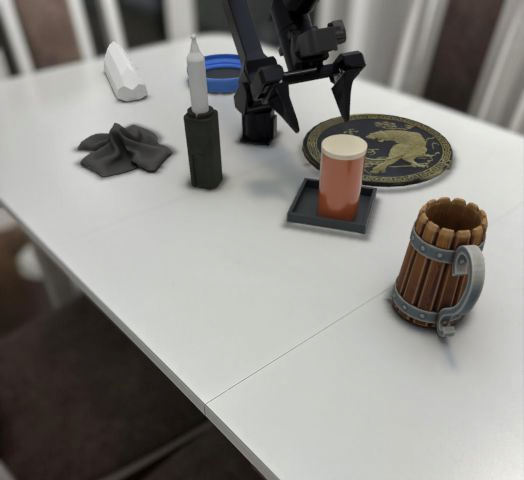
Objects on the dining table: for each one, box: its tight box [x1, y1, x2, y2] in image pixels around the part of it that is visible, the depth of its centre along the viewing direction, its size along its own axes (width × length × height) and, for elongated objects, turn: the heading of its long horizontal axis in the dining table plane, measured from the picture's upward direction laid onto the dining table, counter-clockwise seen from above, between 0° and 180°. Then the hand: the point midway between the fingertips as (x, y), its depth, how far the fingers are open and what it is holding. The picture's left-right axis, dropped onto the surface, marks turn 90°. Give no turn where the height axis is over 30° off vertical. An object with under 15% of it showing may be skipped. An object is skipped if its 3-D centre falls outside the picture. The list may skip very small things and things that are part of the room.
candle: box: [183, 33, 224, 190], centre depth 91 cm, size 5×5×25 cm
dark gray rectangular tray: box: [286, 177, 378, 234], centre depth 92 cm, size 13×12×2 cm
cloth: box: [77, 122, 173, 177], centre depth 107 cm, size 22×19×6 cm
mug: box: [391, 196, 489, 338], centre depth 69 cm, size 16×11×15 cm
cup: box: [317, 134, 367, 221], centre depth 87 cm, size 7×7×12 cm
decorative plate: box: [302, 112, 454, 188], centre depth 107 cm, size 30×2×30 cm
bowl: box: [186, 53, 241, 93], centre depth 133 cm, size 18×18×4 cm
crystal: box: [103, 41, 149, 102], centre depth 131 cm, size 7×7×24 cm
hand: (322, 126), depth 87 cm, fingers open, 9 cm apart
